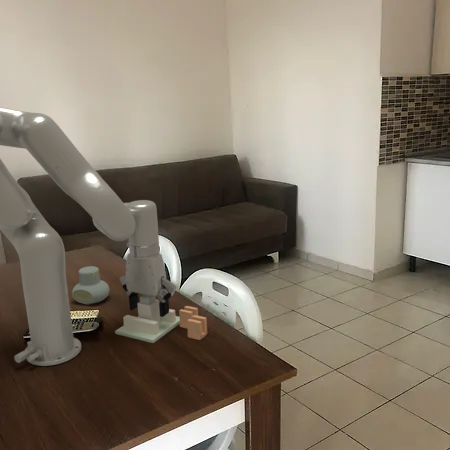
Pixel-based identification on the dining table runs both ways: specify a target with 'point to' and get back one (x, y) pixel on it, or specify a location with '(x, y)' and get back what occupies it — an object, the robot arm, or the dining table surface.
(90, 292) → the air freshener
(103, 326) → the dining table surface
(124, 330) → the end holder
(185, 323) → the clips
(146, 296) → the block
